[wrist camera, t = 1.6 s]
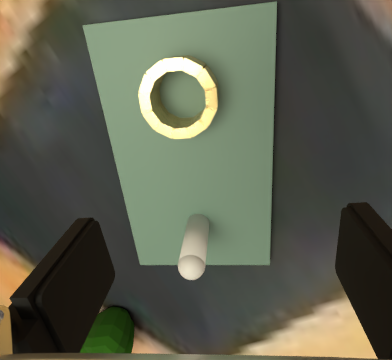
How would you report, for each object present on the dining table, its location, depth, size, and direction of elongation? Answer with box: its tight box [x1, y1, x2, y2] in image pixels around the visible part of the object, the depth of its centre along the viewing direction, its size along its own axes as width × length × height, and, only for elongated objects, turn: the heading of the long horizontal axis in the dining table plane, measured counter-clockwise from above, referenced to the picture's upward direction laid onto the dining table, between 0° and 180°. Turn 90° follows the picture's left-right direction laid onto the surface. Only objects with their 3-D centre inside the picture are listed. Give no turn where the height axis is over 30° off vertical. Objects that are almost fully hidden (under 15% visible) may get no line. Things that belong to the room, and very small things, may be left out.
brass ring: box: [138, 55, 219, 139], centre depth 26 cm, size 7×7×4 cm
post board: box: [83, 2, 277, 280], centre depth 28 cm, size 30×18×10 cm, turn 6°
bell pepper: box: [80, 306, 134, 353], centre depth 43 cm, size 8×8×10 cm
